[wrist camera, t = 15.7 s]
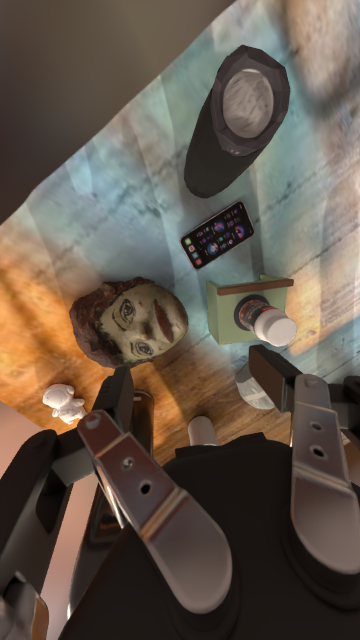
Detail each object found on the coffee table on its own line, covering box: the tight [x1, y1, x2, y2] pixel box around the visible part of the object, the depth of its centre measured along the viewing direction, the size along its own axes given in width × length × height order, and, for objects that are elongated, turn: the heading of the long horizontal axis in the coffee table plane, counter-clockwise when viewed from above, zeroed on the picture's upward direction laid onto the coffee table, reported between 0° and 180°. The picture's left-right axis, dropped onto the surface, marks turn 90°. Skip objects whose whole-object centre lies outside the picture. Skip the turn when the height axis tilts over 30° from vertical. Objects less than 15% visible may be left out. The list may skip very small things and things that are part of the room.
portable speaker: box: [184, 45, 290, 198], centre depth 28 cm, size 9×9×20 cm
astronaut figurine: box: [43, 384, 87, 424], centre depth 48 cm, size 9×12×3 cm
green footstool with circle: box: [206, 274, 294, 345], centre depth 41 cm, size 12×14×10 cm
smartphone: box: [180, 201, 255, 270], centre depth 40 cm, size 8×1×15 cm
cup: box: [188, 416, 219, 446], centre depth 54 cm, size 7×10×9 cm
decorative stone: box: [235, 362, 275, 409], centre depth 52 cm, size 13×10×6 cm
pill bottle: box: [239, 300, 297, 346], centre depth 34 cm, size 6×6×10 cm
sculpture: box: [69, 277, 188, 369], centre depth 40 cm, size 21×10×25 cm
